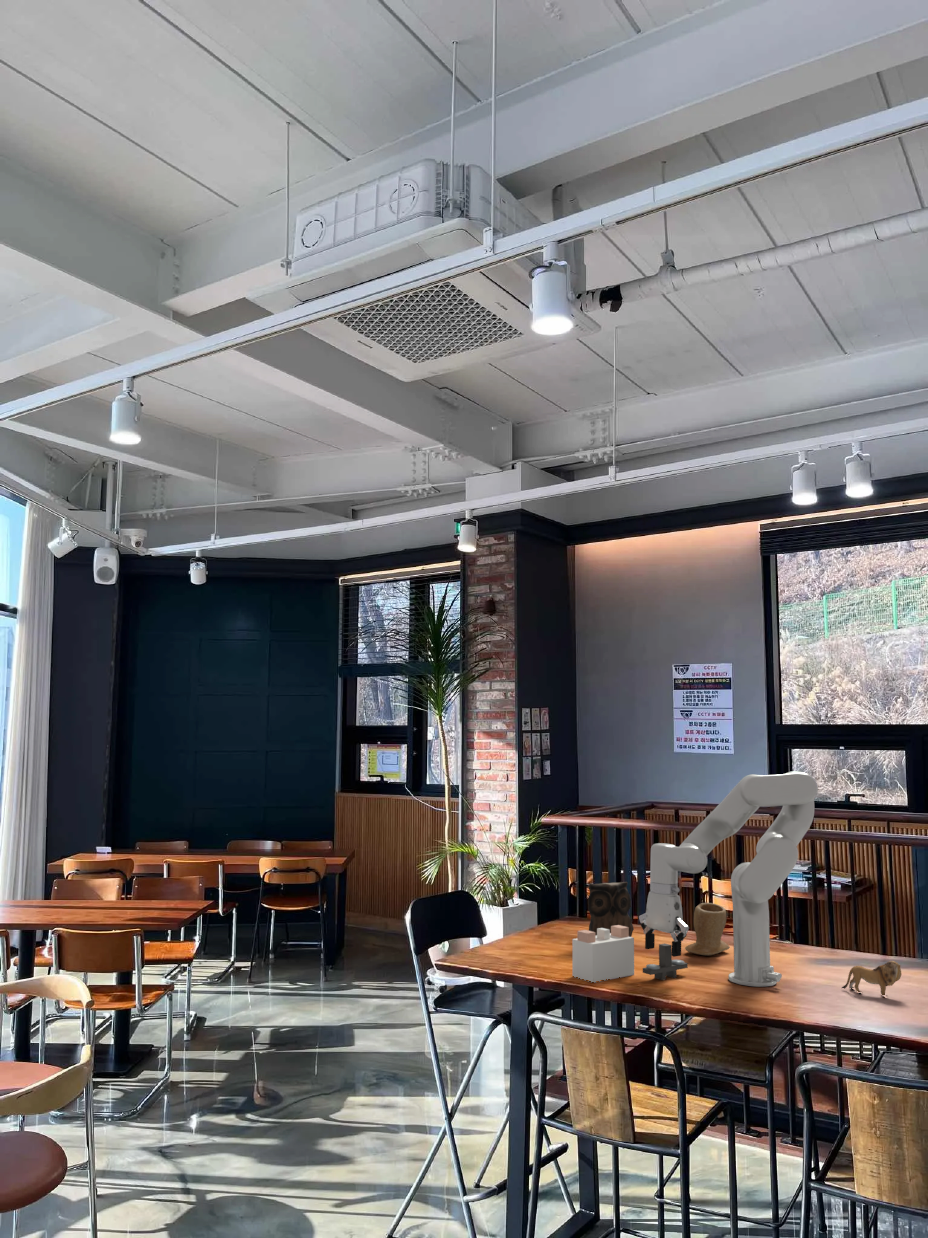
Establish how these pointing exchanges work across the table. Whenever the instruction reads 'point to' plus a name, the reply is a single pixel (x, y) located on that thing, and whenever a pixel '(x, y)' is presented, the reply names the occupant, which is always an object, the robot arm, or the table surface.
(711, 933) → the stone cup
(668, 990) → the table surface
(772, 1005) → the table surface
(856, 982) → the lion figurine
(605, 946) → the white toy brick
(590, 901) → the owl
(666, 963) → the bar with two balls
